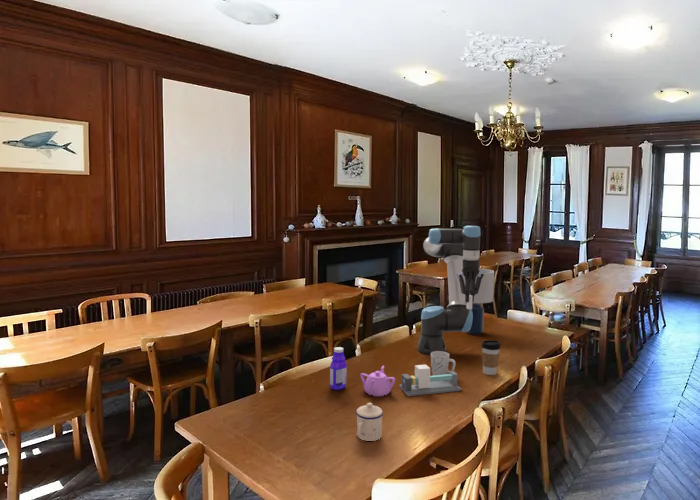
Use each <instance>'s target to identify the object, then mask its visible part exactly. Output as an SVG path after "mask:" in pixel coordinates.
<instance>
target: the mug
mask: <svg viewBox="0 0 700 500" xmlns="http://www.w3.org/2000/svg"><path fill="white" fill-rule="evenodd" d="M450 362H451V363H452V368H451V370H449V364H450ZM456 363H457V362H456V360H455V359H453V358H450V353H449V352H447V351H446V352H443V351H434V352H431V354H430V366H431V367H430V368H431V373H432V376H433V375H444V374H450V372H455V368H456V365H457V364H456Z"/></svg>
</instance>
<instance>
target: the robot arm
mask: <svg viewBox="0 0 700 500" xmlns="http://www.w3.org/2000/svg"><path fill="white" fill-rule="evenodd" d="M428 231H429V232H428V237H427V238H425V240H424V241H423V244H422V248H423V251H424V253H426V254H427V255H429V256H431V257H435V258H443V261H444V263H446V267H447V269H446V270H447V285H448V287H447V289H448V305H447V306H446V309H445V308H444V306H441V305H432V306H427V307H424V308H423V309H422V310H421V316H420V319H421V322H420V323H421V324H420V337H419V339H418V341H417V342H418V343H417V349H416V350H417V351H418V352H419V353H422V354H426V355H431V352H434V351H443V352H447V345H446V342H445V340H444V339H445V338H444V333H445V332H449V333H450V332H451V333H454V332H455V333H462V332H463V333H467V332H468V331H469V330H470V329H471V326H472V320H473V313H472V310H469V309H472V302H474V296H475V294H478V292H479V288H480V284H481V280H482V278H483V276H484V274H482V273H480V272H479V268H480V260H479V259H480V254H481V253H480V249H481V247H480V246H481V234H482V233H481V227H480V226H479V225H465V226H464V227H463V228H438V227H437V228H431V229H429V230H428ZM476 276H477V279H476ZM464 277H465V284H464ZM475 281H476V283H475Z"/></svg>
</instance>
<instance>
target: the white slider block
mask: <svg viewBox="0 0 700 500" xmlns="http://www.w3.org/2000/svg"><path fill="white" fill-rule="evenodd" d="M430 376H431V367H429V366H428V365H427V364H417V365H414V377H417V378H418V383H415V385H418V388H419V389H422V388H430Z"/></svg>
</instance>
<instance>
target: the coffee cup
mask: <svg viewBox="0 0 700 500" xmlns="http://www.w3.org/2000/svg"><path fill="white" fill-rule="evenodd" d="M481 348H482V350H481V355H482V358H481V359H482V372H483V374H484V375H488V376H495V375H496V374H497V371H498V365H499V359H500V358H499V357H500V349H501V342H500V341H499V340H496V339H495V340H494V339H492V340H491V339H490V340H489V339H487V340H483V341H482V342H481Z"/></svg>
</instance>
